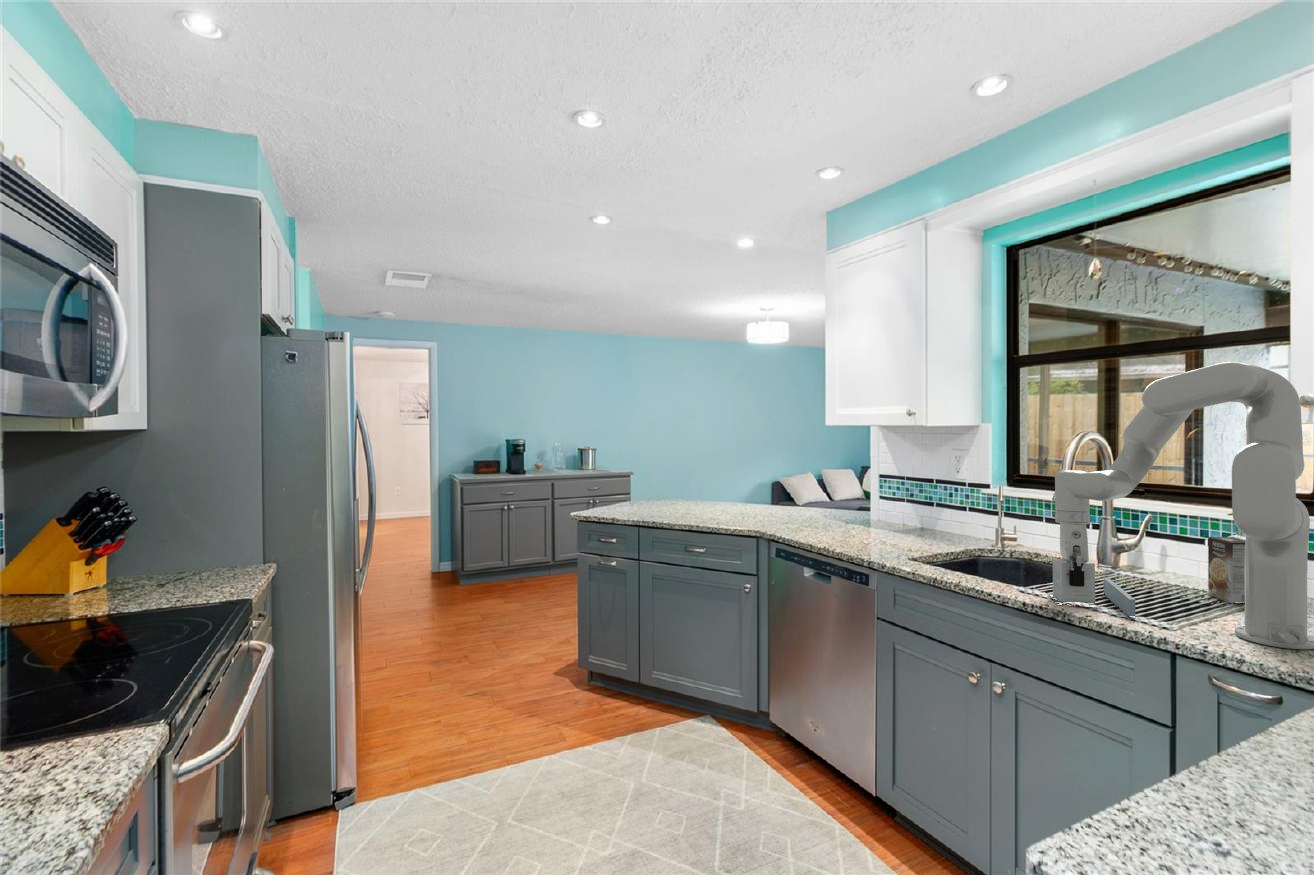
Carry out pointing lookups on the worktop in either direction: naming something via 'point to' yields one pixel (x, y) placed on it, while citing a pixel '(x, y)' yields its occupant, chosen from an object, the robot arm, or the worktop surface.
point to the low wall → (1119, 597)
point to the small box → (1073, 593)
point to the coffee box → (1226, 568)
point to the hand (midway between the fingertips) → (1072, 582)
